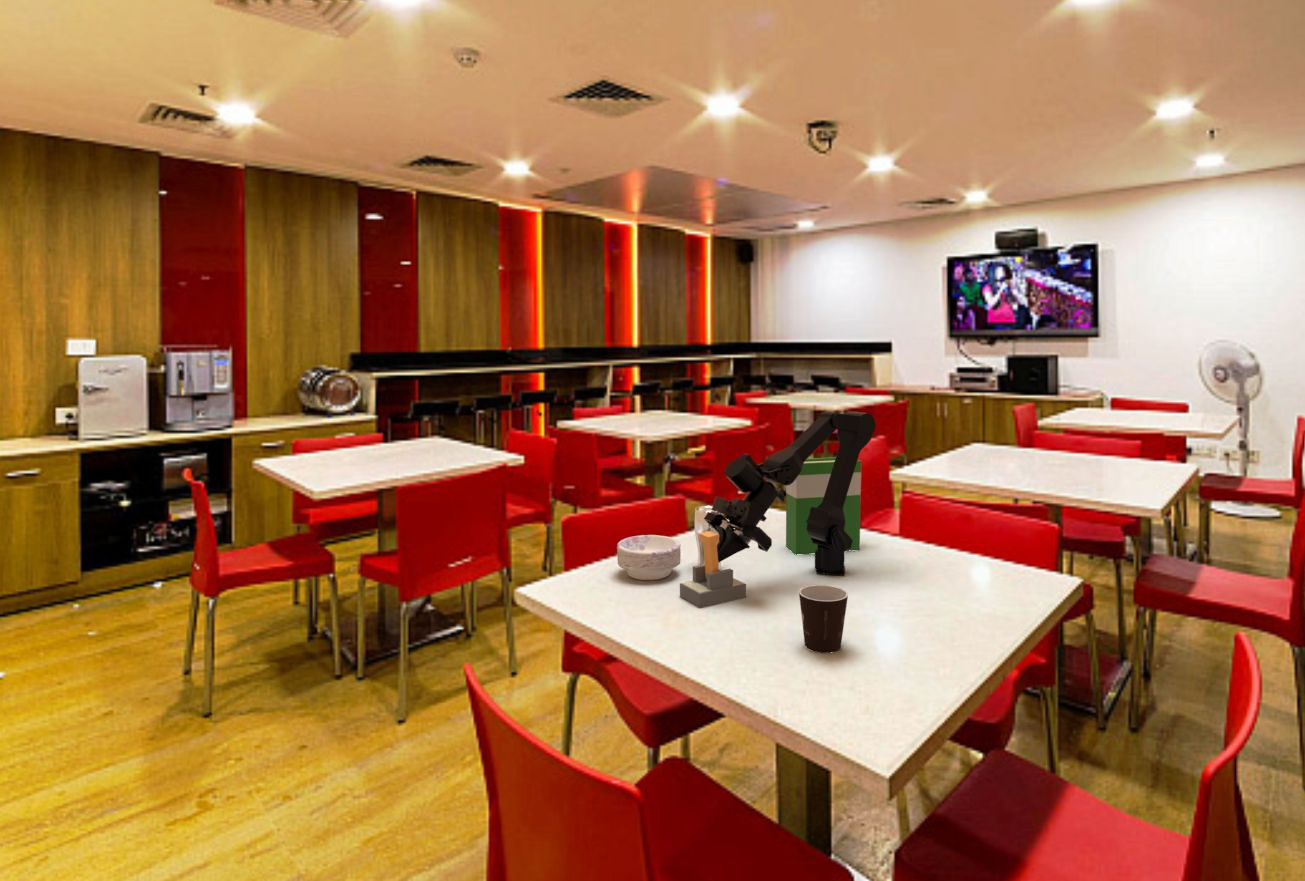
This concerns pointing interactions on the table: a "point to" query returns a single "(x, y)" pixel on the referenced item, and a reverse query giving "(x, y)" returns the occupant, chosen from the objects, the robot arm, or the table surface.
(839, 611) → the coffee mug
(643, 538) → the paper bowls
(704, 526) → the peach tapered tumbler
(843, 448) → the robot arm
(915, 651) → the table surface
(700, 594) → the breaker block
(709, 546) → the breaker lever
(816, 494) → the hardback book
